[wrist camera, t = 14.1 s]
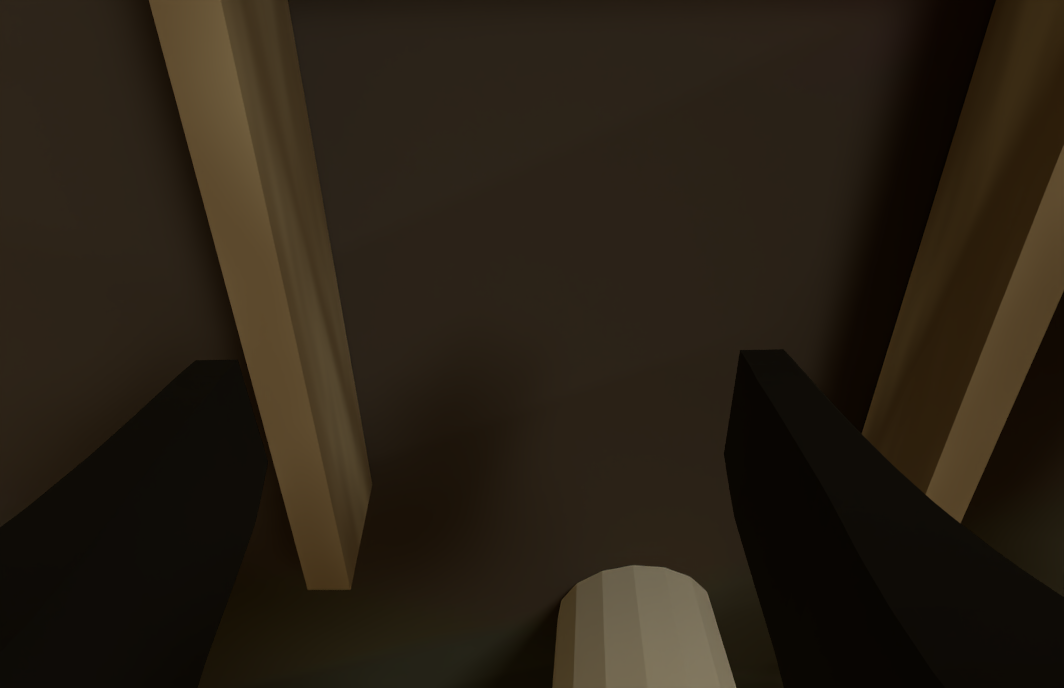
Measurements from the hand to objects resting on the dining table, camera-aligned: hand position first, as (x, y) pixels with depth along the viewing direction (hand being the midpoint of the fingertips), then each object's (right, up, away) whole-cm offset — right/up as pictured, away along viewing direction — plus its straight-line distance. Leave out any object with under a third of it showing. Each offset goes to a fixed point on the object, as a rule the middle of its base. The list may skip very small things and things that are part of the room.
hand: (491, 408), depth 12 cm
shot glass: (+4, -9, +19) cm, 21 cm away
